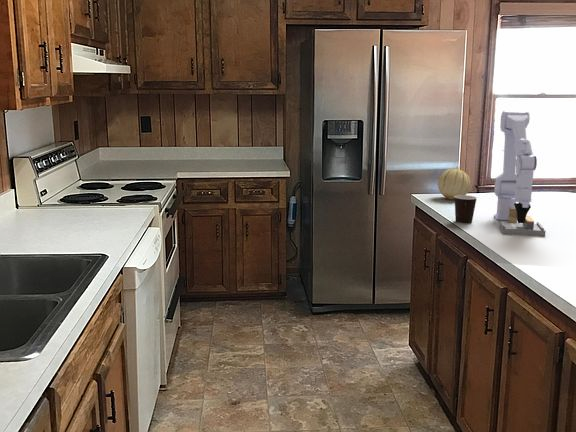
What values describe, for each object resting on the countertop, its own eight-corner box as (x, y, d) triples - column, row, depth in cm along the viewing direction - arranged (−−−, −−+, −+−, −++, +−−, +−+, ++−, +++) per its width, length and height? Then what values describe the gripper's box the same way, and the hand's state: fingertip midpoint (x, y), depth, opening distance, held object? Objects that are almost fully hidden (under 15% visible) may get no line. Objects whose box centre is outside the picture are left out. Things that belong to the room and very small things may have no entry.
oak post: (507, 224, 254) (509, 206, 252) (515, 224, 253) (517, 207, 252) (508, 225, 251) (510, 208, 249) (516, 226, 250) (518, 208, 249)
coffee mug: (458, 218, 264) (459, 194, 261) (478, 221, 258) (480, 197, 256) (445, 223, 255) (447, 198, 253) (466, 226, 249) (467, 201, 247)
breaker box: (498, 227, 249) (499, 220, 248) (539, 229, 246) (540, 222, 245) (502, 234, 238) (503, 226, 238) (545, 236, 235) (545, 228, 235)
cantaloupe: (436, 201, 299) (437, 169, 296) (438, 195, 313) (440, 164, 309) (468, 203, 295) (471, 170, 291) (469, 197, 308) (471, 166, 305)
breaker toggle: (522, 223, 246) (523, 215, 245) (529, 223, 245) (530, 216, 245) (526, 228, 237) (527, 220, 236) (533, 229, 237) (534, 221, 236)
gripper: (509, 183, 246) (507, 218, 249) (515, 190, 232) (512, 226, 235) (529, 184, 245) (526, 218, 248) (535, 191, 231) (532, 227, 234)
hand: (520, 222), depth 241 cm, fingers closed, pressing on breaker toggle
